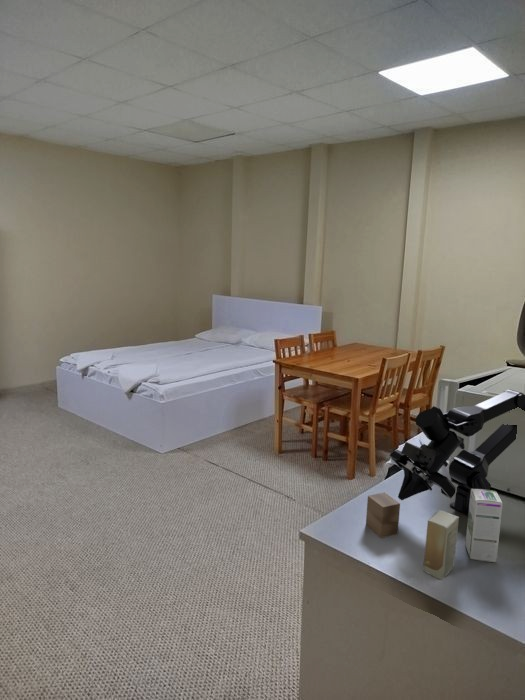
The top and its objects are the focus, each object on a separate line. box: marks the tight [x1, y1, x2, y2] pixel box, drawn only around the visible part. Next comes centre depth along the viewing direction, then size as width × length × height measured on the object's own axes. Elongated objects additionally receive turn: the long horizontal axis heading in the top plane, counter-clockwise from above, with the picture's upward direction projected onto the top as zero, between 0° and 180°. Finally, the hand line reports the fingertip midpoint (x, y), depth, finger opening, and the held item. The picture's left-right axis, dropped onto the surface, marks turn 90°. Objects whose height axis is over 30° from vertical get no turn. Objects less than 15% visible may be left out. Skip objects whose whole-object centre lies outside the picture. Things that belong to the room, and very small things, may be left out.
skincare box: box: [422, 509, 460, 581], centre depth 104 cm, size 6×4×12 cm
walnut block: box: [365, 492, 401, 539], centre depth 119 cm, size 5×6×8 cm
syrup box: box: [465, 489, 504, 563], centre depth 110 cm, size 6×6×14 cm
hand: (399, 498), depth 121 cm, fingers closed
